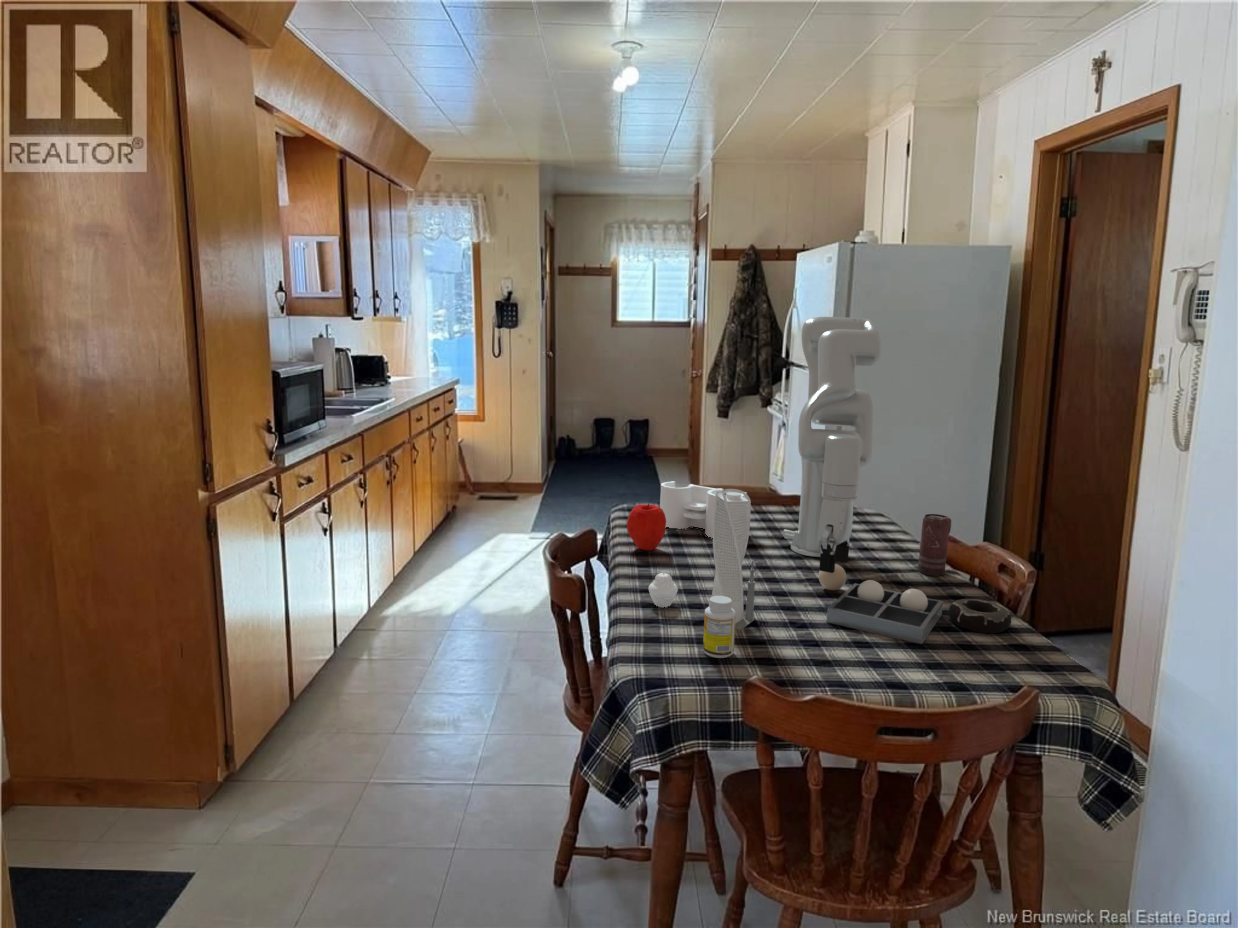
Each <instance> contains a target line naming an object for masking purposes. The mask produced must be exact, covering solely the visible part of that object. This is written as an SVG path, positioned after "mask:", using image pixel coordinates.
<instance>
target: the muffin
mask: <svg viewBox="0 0 1238 928" xmlns="http://www.w3.org/2000/svg"><path fill="white" fill-rule="evenodd" d="M678 590H679V589H678V585H677V584H676V583H675V582H674V580H673V577H672V576H671V575H670V574H668V573H664V572H661V573H658V574H656V575H655V577H654V580H653V581H652V582H651V583H650V584H649V585H648V592H649V596H650V597H651V600H652V602H653V604H654V606H655V605H656V607H657V606H658V608H664V607H665V608H668V606H669V607H671V605H672V603H673V601H674V600H675V598H676V596H677V594H678Z"/></svg>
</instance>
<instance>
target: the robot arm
mask: <svg viewBox="0 0 1238 928" xmlns="http://www.w3.org/2000/svg"><path fill="white" fill-rule="evenodd" d="M801 346H802V351H803V355H804V358H805V362H806V364H807V369H808V390H807V391H808V393H807V400H806V401H807V402H806V403H805V404H804V405H803V407H802V409H801V411H800V415H799V420H798V436H797V437H798V439H797V440H798V446H797V447H798V453H799V456H800V459H801V485H800V486H801V487H800V502H799V517H798V528H797V530H795V531H793V530H789V529H787V528H786V529H783V531H782V537H784V539H786V540H791V541H792V542H791V544H790V549H791V550H792V551H793V552H794V553H797V554H800V555H803V556H806V557H807V556H808V557H815V558H819V572H820V571H824V572H829V573H833V572H834V571H835V564H836V562H837V563H843V564H848V562H849V554H850V553H849V551H850V542H851V541H850V537H851V536H852V529H853V517H854V516H853V515H854V501H856V500H857V499H858V489H859V477H860V470H864V469H867V467H869V465H870V463H871V460H872V454H873V453H872V451H873V425H874V424H873V420H874V416H873V415H874V409H873V408H874V407H873V405H874V404H873V399H872V397H871V395H870V394H869V392H868V391H866V390H863V389H857V387H856V366H863V367H865V366H866V367H872V366H876V364H878V363H879V360H880V358H881V354H882V342H881V336H880V334H879V331H878V329H877V327H876V325H875V323H874V322H873V321H872V320H871V319H870V318H866V317H865V318H864V317H843V316H840V317H839V316H816V317H812V318H809V319H807V320H805V322H803V324H802V328H801ZM812 423H813V424H814V425H820V426H829V427H831V426H833V427H849V428H851V429H852V430H843V429H842V430H841V429H840V430H839V429H826V428H825V429H823V428H813V427H812Z"/></svg>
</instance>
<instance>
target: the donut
mask: <svg viewBox="0 0 1238 928" xmlns="http://www.w3.org/2000/svg"><path fill="white" fill-rule="evenodd" d="M947 614H948V617H949V619H950V620H951V622H952V623H954V624H955V625H956V626H958V627H960V628H962V629H965V630H968V631H971V632H974V633H975V632H976V633H981V634H997V633H1001V632H1004V631H1006V630H1007V629H1008V628H1009V627H1010V626H1011V624H1012V616H1011V614H1010V612H1009V611H1008V610H1007V609H1006V608H1004V607H1003V606H1002V605H999V604H998V603H995V602H991V601H990V600H984V599H977V598H961V599H957V600H955V601H953V602H952V603H951V604H950V605H949V607H948V610H947Z"/></svg>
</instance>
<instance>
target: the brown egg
mask: <svg viewBox="0 0 1238 928" xmlns="http://www.w3.org/2000/svg"><path fill="white" fill-rule="evenodd" d="M818 580H819V583H820V585H821V586H822V587H823V588H824V589H825V590H829V591H838V590H840V589H841V588H843V587H844V585H846V581H847V574H846V570H845V568H843V567H842V566H841V565H840V564H838V563H835V571H834V572H833V573H829V572H824V571H820V570H819V572H818Z"/></svg>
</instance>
